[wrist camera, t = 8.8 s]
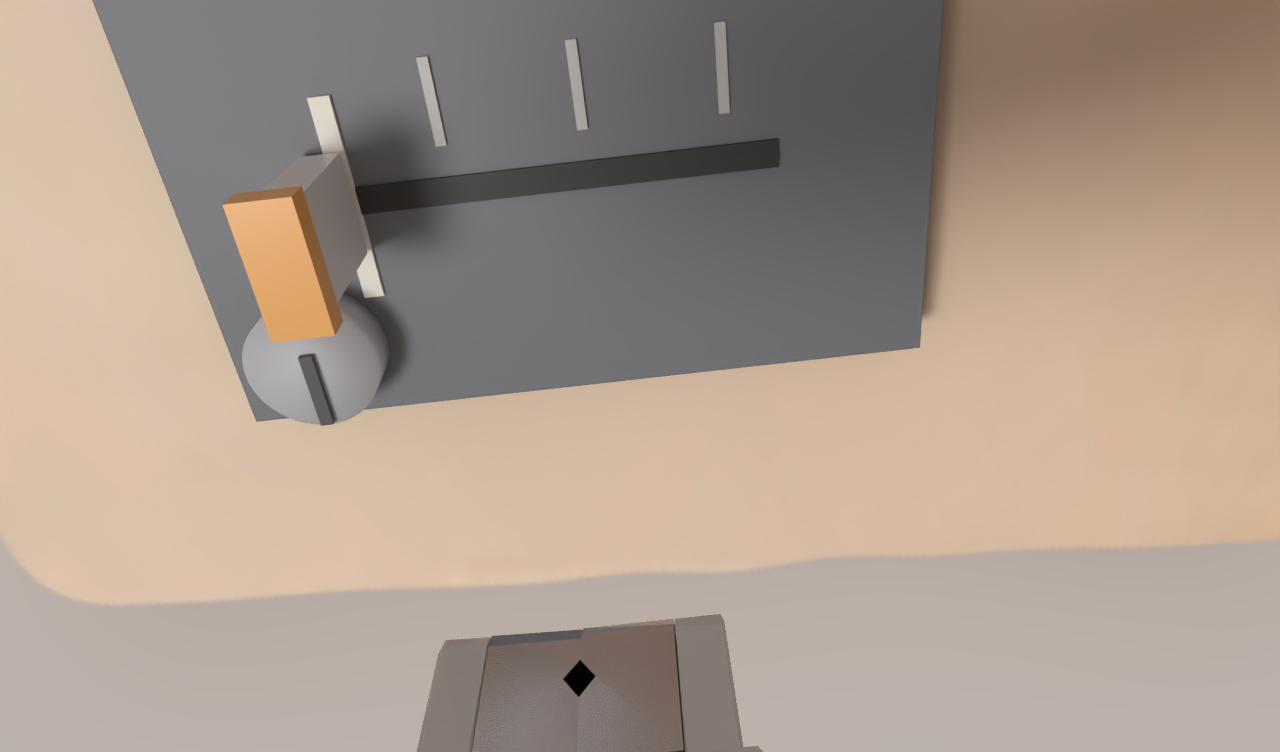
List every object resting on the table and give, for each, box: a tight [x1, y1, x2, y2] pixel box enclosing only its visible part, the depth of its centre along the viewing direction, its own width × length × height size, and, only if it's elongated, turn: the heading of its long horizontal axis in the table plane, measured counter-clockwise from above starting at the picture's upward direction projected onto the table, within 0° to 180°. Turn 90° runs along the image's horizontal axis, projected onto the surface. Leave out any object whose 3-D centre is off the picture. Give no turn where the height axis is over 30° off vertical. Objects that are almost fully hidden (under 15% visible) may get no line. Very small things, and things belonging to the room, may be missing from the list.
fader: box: [223, 152, 368, 343], centre depth 23 cm, size 2×4×5 cm, turn 6°
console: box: [92, 0, 943, 425], centre depth 25 cm, size 22×14×4 cm, turn 96°
